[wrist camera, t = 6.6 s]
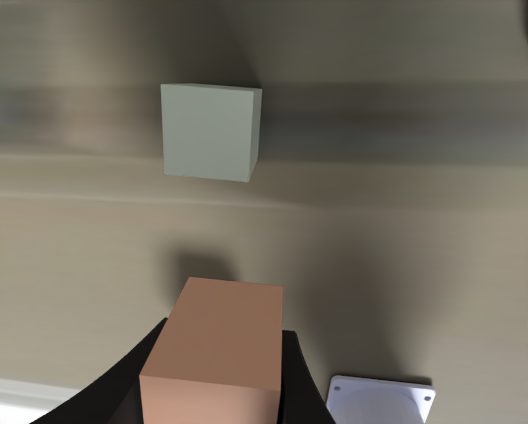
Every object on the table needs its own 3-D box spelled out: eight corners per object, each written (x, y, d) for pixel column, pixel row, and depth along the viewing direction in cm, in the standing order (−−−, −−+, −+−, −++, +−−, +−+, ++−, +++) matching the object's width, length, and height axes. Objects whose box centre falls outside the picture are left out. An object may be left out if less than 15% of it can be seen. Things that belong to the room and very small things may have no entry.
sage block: (257, 158, 20) (248, 182, 15) (193, 152, 20) (164, 174, 15) (262, 89, 18) (253, 91, 14) (192, 83, 19) (160, 84, 14)
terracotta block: (274, 358, 15) (269, 480, 11) (190, 349, 15) (147, 464, 11) (283, 286, 14) (280, 390, 9) (189, 276, 14) (139, 375, 9)
